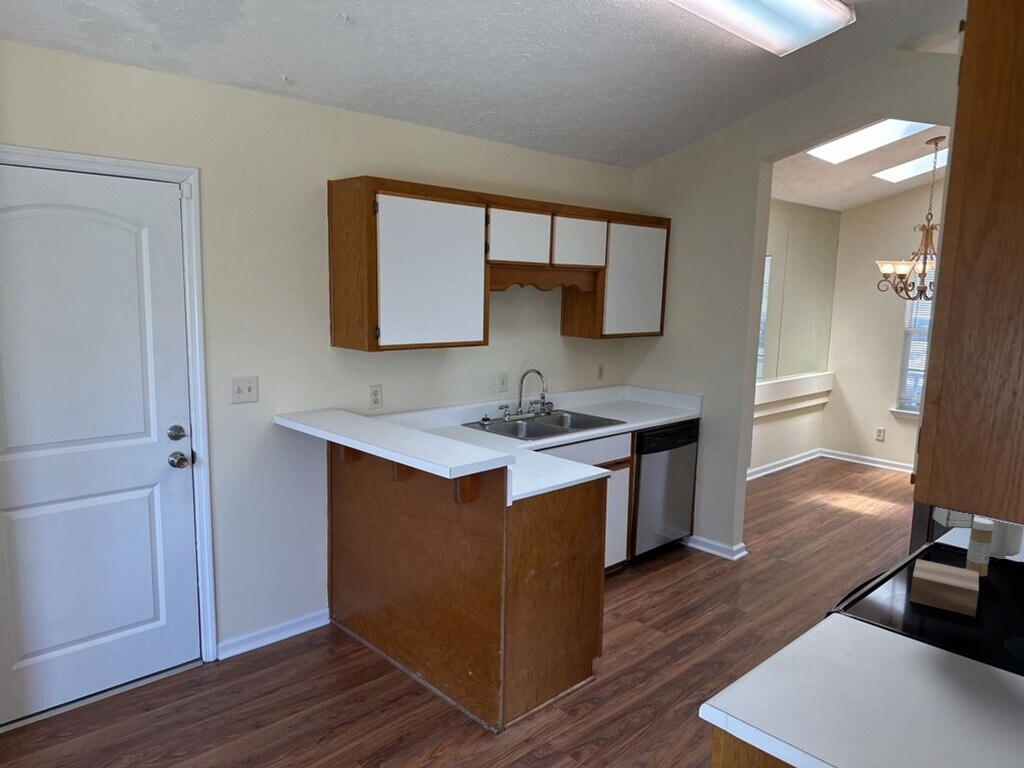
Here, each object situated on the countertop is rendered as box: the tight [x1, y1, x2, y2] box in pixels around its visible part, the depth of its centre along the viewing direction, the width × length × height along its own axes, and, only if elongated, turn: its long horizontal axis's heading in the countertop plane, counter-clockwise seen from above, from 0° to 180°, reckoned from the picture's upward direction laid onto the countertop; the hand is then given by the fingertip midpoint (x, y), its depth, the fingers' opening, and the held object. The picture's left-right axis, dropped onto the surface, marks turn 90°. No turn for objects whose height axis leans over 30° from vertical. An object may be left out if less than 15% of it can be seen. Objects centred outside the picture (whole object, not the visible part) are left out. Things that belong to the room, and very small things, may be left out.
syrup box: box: [932, 506, 975, 529], centre depth 148 cm, size 6×6×14 cm
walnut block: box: [909, 558, 980, 618], centre depth 152 cm, size 12×12×6 cm
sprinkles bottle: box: [964, 517, 994, 577], centre depth 165 cm, size 5×5×13 cm
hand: (955, 501), depth 149 cm, fingers closed on syrup box, 8 cm apart
